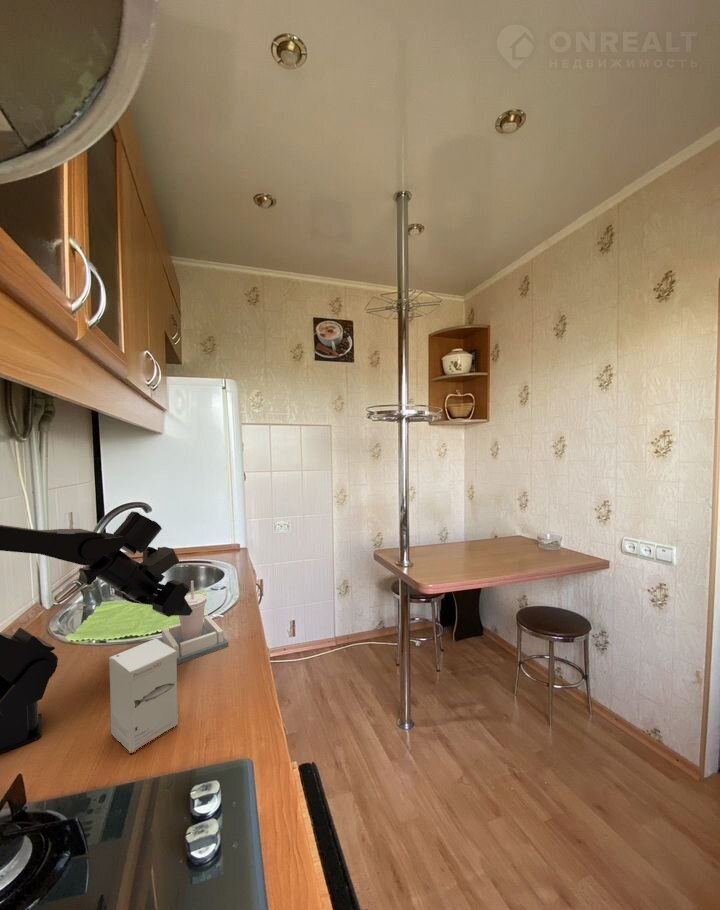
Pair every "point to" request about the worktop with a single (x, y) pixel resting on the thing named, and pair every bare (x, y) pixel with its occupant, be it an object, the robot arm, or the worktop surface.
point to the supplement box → (143, 693)
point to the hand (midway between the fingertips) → (177, 608)
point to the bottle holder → (194, 641)
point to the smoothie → (193, 616)
